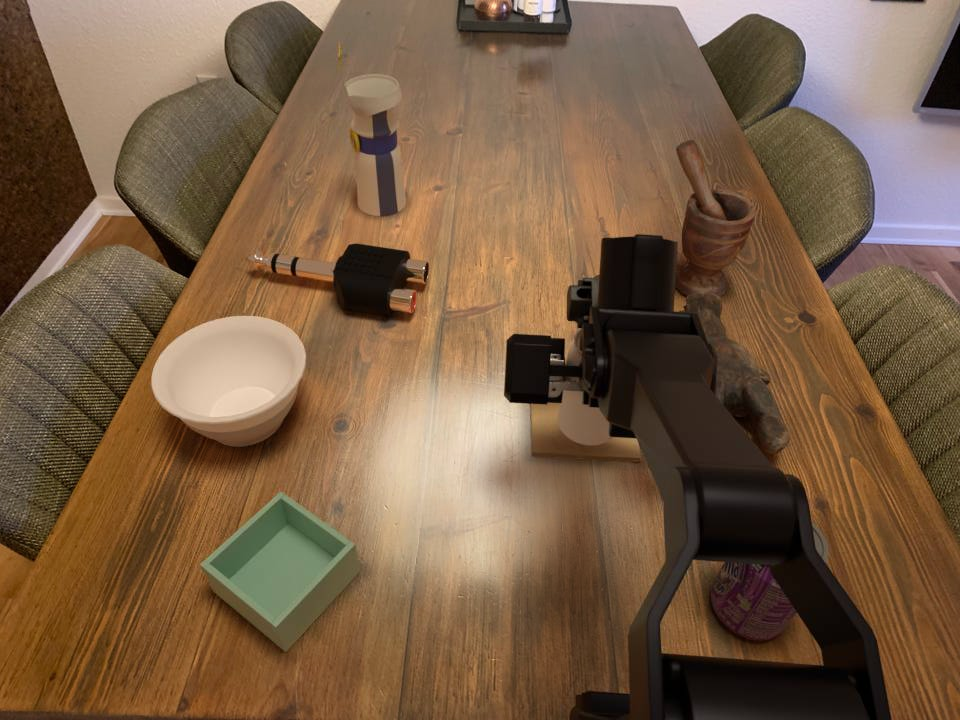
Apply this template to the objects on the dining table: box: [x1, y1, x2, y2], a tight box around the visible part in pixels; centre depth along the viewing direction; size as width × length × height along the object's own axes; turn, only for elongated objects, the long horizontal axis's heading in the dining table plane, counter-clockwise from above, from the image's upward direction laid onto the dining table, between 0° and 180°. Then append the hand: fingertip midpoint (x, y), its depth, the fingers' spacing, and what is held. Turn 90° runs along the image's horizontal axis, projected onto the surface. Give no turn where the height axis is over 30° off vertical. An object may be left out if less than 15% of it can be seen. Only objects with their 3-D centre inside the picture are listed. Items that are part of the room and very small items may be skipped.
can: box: [558, 328, 613, 446], centre depth 72 cm, size 6×6×12 cm
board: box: [530, 364, 642, 463], centre depth 83 cm, size 14×12×1 cm
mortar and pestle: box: [675, 139, 757, 299], centre depth 94 cm, size 12×9×20 cm
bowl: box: [150, 315, 307, 448], centre depth 78 cm, size 16×16×9 cm
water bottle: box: [337, 41, 407, 217], centre depth 104 cm, size 8×9×25 cm
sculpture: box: [677, 292, 791, 455], centre depth 84 cm, size 10×26×7 cm, turn 1°
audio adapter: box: [244, 243, 430, 317], centre depth 96 cm, size 11×5×25 cm
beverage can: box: [710, 521, 830, 642], centre depth 63 cm, size 7×7×12 cm
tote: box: [199, 491, 361, 653], centre depth 66 cm, size 10×10×5 cm
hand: (594, 372), depth 72 cm, fingers closed on can, 6 cm apart
